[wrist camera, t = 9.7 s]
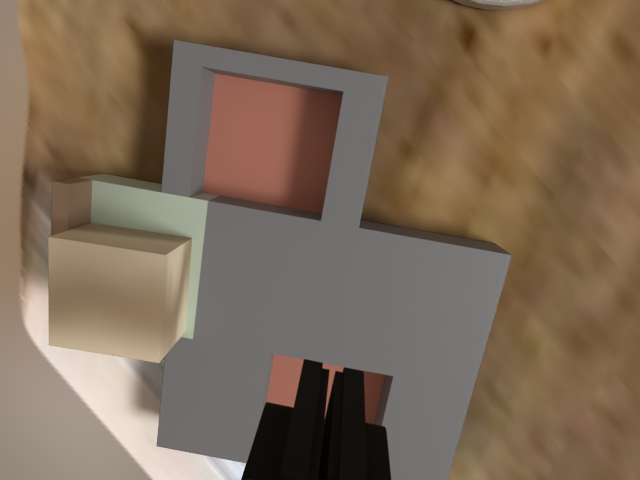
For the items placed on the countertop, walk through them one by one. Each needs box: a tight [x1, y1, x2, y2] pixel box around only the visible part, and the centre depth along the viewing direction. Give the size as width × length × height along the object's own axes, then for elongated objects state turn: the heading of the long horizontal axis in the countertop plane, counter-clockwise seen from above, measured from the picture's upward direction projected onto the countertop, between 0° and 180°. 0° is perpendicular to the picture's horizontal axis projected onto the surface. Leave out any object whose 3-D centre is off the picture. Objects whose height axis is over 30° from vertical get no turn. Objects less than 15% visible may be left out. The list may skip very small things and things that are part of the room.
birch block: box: [48, 222, 192, 363], centre depth 22 cm, size 6×6×4 cm
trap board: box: [51, 40, 512, 480], centre depth 24 cm, size 23×23×4 cm
